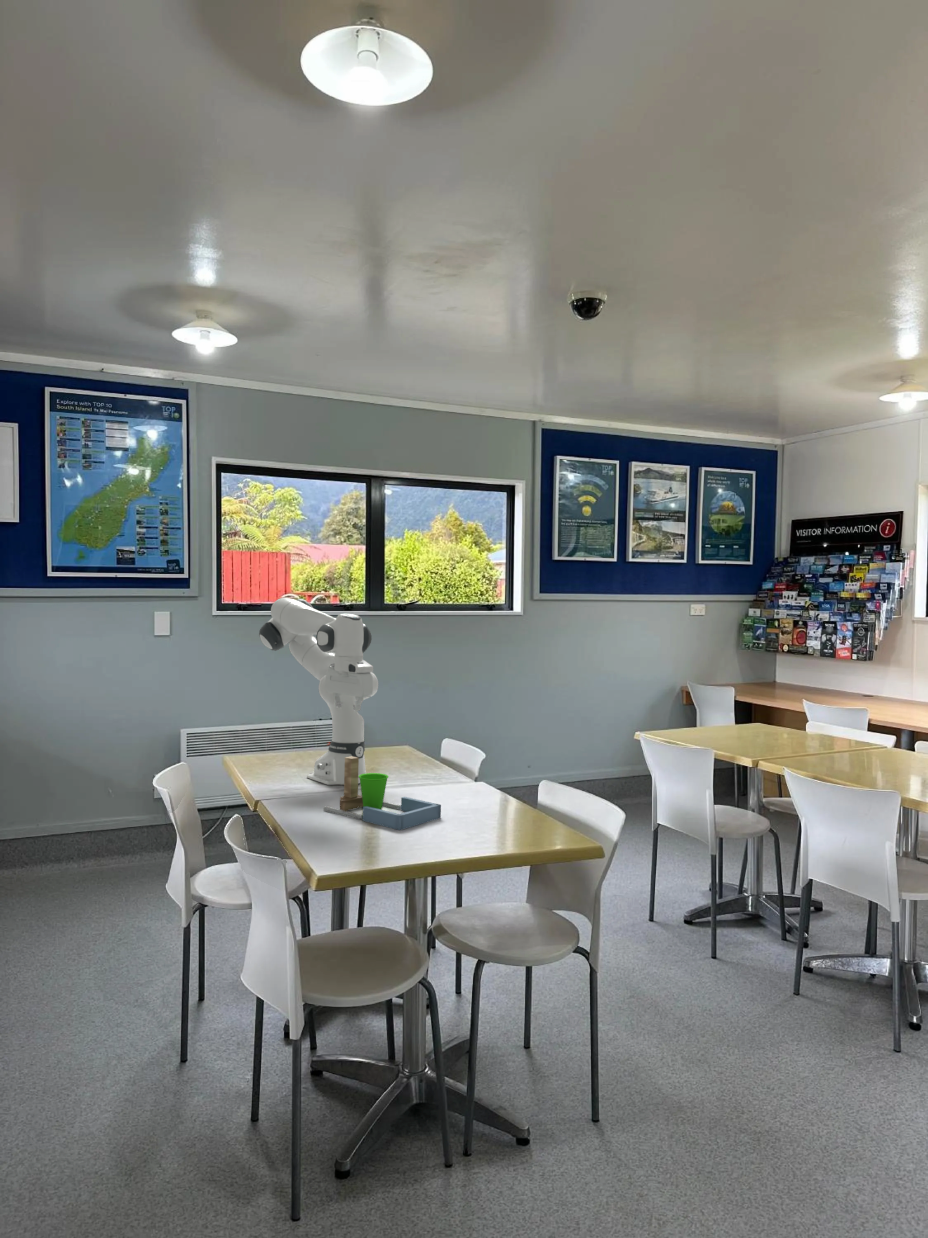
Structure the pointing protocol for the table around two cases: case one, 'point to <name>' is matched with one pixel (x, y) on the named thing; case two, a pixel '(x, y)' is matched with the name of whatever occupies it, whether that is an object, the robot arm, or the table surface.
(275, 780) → the table surface
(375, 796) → the cup
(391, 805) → the track
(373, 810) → the bay
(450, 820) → the table surface
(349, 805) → the stepped wooden block
